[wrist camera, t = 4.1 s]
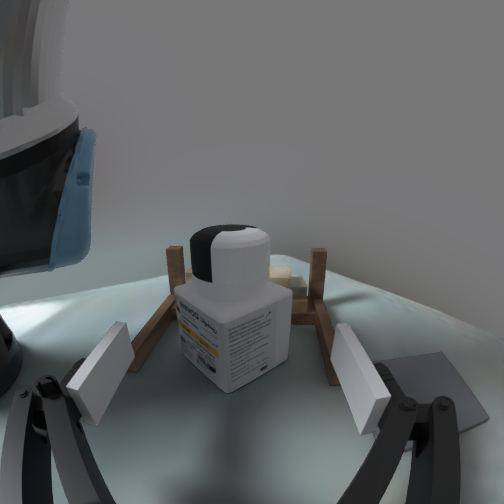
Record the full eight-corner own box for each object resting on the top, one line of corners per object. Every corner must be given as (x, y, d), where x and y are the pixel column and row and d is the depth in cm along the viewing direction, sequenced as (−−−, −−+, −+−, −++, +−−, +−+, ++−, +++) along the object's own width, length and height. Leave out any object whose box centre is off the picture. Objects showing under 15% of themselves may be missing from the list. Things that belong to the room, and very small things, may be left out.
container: (181, 354, 26) (166, 228, 22) (239, 330, 31) (237, 217, 27) (227, 396, 20) (217, 244, 17) (289, 359, 25) (297, 228, 22)
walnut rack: (124, 369, 22) (104, 296, 20) (175, 298, 39) (170, 245, 36) (345, 384, 21) (363, 306, 19) (319, 302, 37) (324, 248, 35)
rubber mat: (380, 457, 13) (382, 454, 13) (351, 367, 23) (352, 363, 23) (486, 421, 12) (489, 417, 12) (440, 355, 22) (441, 351, 22)
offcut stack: (179, 309, 32) (175, 275, 31) (190, 292, 37) (187, 262, 36) (307, 313, 31) (310, 278, 30) (302, 295, 36) (305, 264, 35)
